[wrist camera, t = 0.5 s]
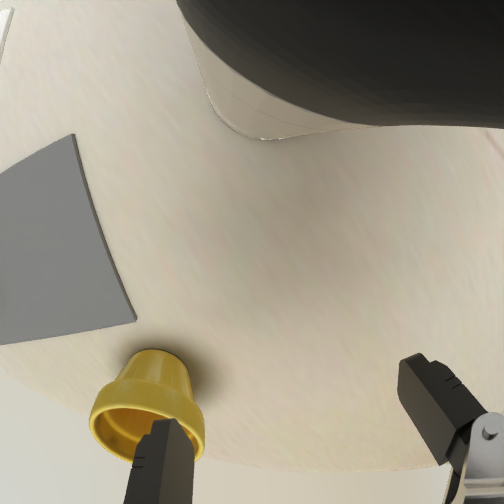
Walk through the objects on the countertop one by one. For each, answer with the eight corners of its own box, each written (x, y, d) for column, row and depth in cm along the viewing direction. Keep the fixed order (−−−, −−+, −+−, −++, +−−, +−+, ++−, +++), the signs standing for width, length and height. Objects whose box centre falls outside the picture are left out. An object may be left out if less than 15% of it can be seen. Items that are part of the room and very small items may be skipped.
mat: (-58, 218, 21) (-61, 219, 20) (74, 134, 21) (71, 134, 20) (-6, 343, 27) (-8, 346, 26) (137, 318, 27) (135, 321, 26)
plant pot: (227, 379, 30) (230, 453, 21) (161, 413, 32) (151, 478, 22) (159, 315, 27) (135, 388, 18) (97, 360, 28) (67, 424, 19)
